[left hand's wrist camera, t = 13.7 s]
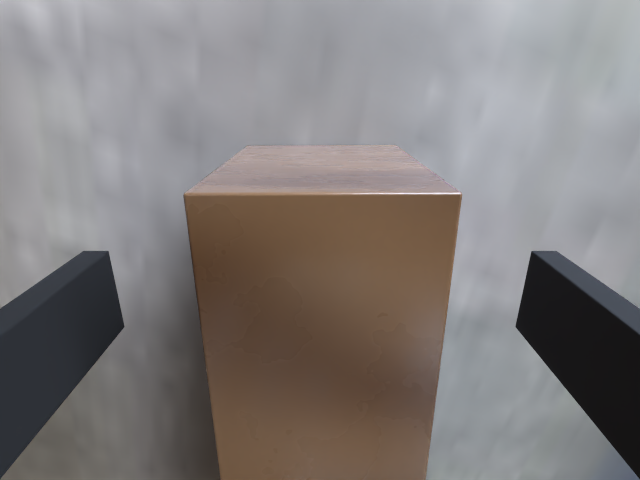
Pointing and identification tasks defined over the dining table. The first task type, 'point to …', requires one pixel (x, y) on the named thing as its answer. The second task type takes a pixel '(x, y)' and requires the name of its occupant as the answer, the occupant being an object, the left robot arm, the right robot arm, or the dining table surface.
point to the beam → (322, 309)
